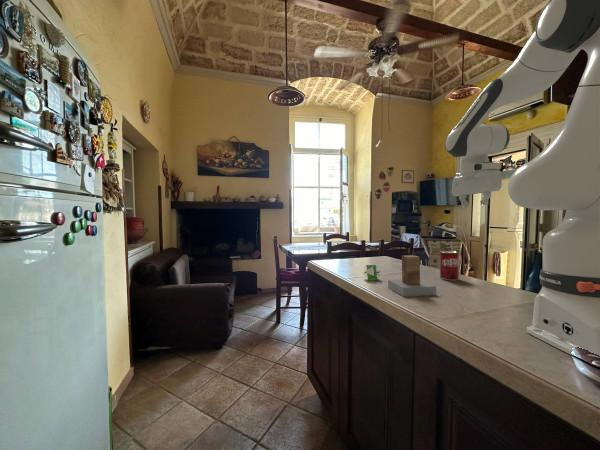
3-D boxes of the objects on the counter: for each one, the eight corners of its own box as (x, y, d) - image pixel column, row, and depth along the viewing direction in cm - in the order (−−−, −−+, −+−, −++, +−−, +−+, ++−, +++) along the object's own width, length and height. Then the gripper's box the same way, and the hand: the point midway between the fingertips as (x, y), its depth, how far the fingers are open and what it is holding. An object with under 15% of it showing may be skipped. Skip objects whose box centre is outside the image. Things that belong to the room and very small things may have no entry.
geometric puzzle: (361, 272, 119) (363, 260, 114) (376, 272, 119) (379, 260, 114) (364, 284, 114) (366, 272, 109) (380, 284, 113) (382, 272, 108)
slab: (436, 294, 89) (436, 286, 89) (403, 296, 88) (403, 287, 88) (417, 286, 101) (417, 278, 101) (388, 287, 100) (388, 280, 100)
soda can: (462, 280, 108) (462, 252, 108) (445, 281, 108) (445, 253, 108) (452, 277, 115) (452, 250, 115) (436, 277, 115) (436, 251, 115)
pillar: (420, 284, 92) (419, 256, 92) (408, 284, 92) (407, 257, 92) (413, 281, 97) (413, 255, 97) (402, 281, 96) (401, 255, 96)
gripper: (447, 174, 105) (447, 207, 106) (488, 163, 85) (488, 204, 85) (461, 174, 106) (461, 207, 106) (505, 162, 86) (505, 204, 86)
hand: (474, 206), depth 96 cm, fingers open, 8 cm apart
